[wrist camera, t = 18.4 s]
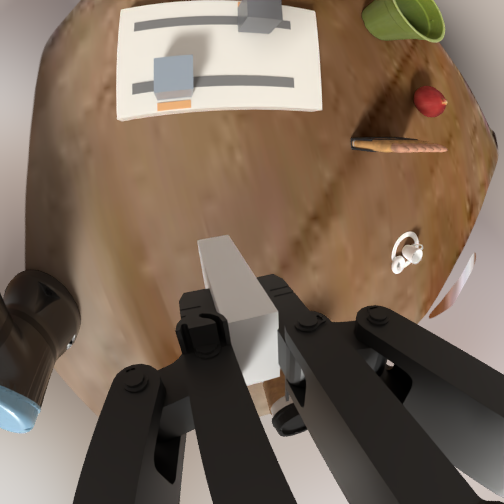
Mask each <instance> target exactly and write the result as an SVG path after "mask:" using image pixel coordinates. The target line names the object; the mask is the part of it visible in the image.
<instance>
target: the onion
mask: <svg viewBox="0 0 504 504" xmlns="http://www.w3.org/2000/svg"><path fill="white" fill-rule="evenodd" d="M414 104H415V106H416V107H417V109H418V110H419V111H420V112H421V113H422V114H423V115H425V116H427V117H437V116H439V115H440V114H442V113H443V111H444V109H445V107H446V104H447V100H446V99H445V98H444V96H443V95H442V93H441V92H439V91H438V90H437V89H436V88H434V87H431V86H423V87H420V88H418V89H417V90H416V92H415V95H414Z"/></svg>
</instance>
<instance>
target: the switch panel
mask: <svg viewBox="0 0 504 504" xmlns="http://www.w3.org/2000/svg"><path fill="white" fill-rule="evenodd" d="M240 3H241V1H225V0H203V1H181V2H169V3H160V4H152V5H145V6H138V7H132V8H127V9H122V10H121V14H120V24H119V35H118V50H117V83H116V92H117V120H120V121H126V120H132V119H138V118H145V117H152V116H159V115H168V114H177V113H187V112H199V111H215V110H250V109H259V110H294V111H310V112H313V111H319V110H322V92H321V72H320V57H319V45H318V34H317V24H316V15H315V11H312V10H307V9H302V8H296V7H290V6H284V5H282V15H283V21H282V22H281V23H280V24H279V25H278V26H277V27H276V28H275V29H274V30H273V31H272V32H271V33H270V34H263V33H248V32H238V6H239V4H240ZM180 55H193V87H194V89H193V93H192V97H187V98H177V99H167V100H159V101H158V100H157V98H156V96H155V94H154V58H160V57H169V56H180Z"/></svg>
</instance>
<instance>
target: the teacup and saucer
mask: <svg viewBox="0 0 504 504" xmlns="http://www.w3.org/2000/svg"><path fill="white" fill-rule="evenodd" d="M405 237H412V238H413V239H414V242H415V244H413V245H405V246H404V247H403V248H402V254H403V256H404V257H405V258H406V259H408V261H407V262H405V260H404V258H403V257H402V256H397V257H396V249H397V246H398V244H399V243H400V242H401V240H402V239H404V238H405ZM418 245H419V246H422V248H420V249H419V248H418ZM414 246H415V247H414ZM422 250H423V245H422V244H419V242H418V237H417V235H416V234H415V233H414V232H406V233H404V234H402V235H401V236H400V237H399V238H398V240H397V241H396V243H395V245H394V247H393V250H392V271H393V272H394V273H395V274H398V273H400V272H401V271H402V270H403V268H404V267H406V266H408V265H409V264H410V263H411V262H412V263H413V264H417V263H419V261H420V260H421V258H422Z"/></svg>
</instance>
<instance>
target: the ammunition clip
mask: <svg viewBox="0 0 504 504" xmlns="http://www.w3.org/2000/svg"><path fill="white" fill-rule="evenodd" d="M351 148H352V149H353V150H361V151H370V152H445V151H448V149H447V148H445V147H444V146H441V145H438V144H434V143H430V142H427V141H420V140H418V139H410V138H400V137H364V138H351Z"/></svg>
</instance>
